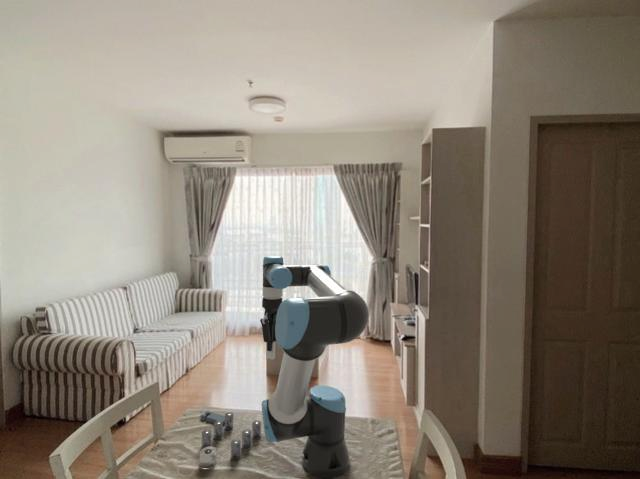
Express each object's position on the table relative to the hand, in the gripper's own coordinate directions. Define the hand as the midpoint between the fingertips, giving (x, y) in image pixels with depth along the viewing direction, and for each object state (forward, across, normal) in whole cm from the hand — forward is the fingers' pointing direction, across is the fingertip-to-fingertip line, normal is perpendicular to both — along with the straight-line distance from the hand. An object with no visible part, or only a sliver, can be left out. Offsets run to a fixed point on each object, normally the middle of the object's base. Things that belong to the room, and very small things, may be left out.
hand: (270, 358), depth 133 cm
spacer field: (+24, +17, -5) cm, 30 cm away
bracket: (+25, +9, -19) cm, 33 cm away
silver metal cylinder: (+25, +29, -5) cm, 38 cm away
